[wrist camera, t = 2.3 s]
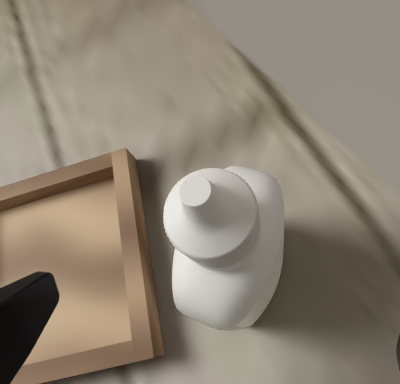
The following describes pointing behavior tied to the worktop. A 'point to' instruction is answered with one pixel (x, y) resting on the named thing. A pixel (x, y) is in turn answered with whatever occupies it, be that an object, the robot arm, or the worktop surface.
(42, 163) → the worktop surface
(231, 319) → the eye dropper bottle
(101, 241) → the shallow wooden tray
